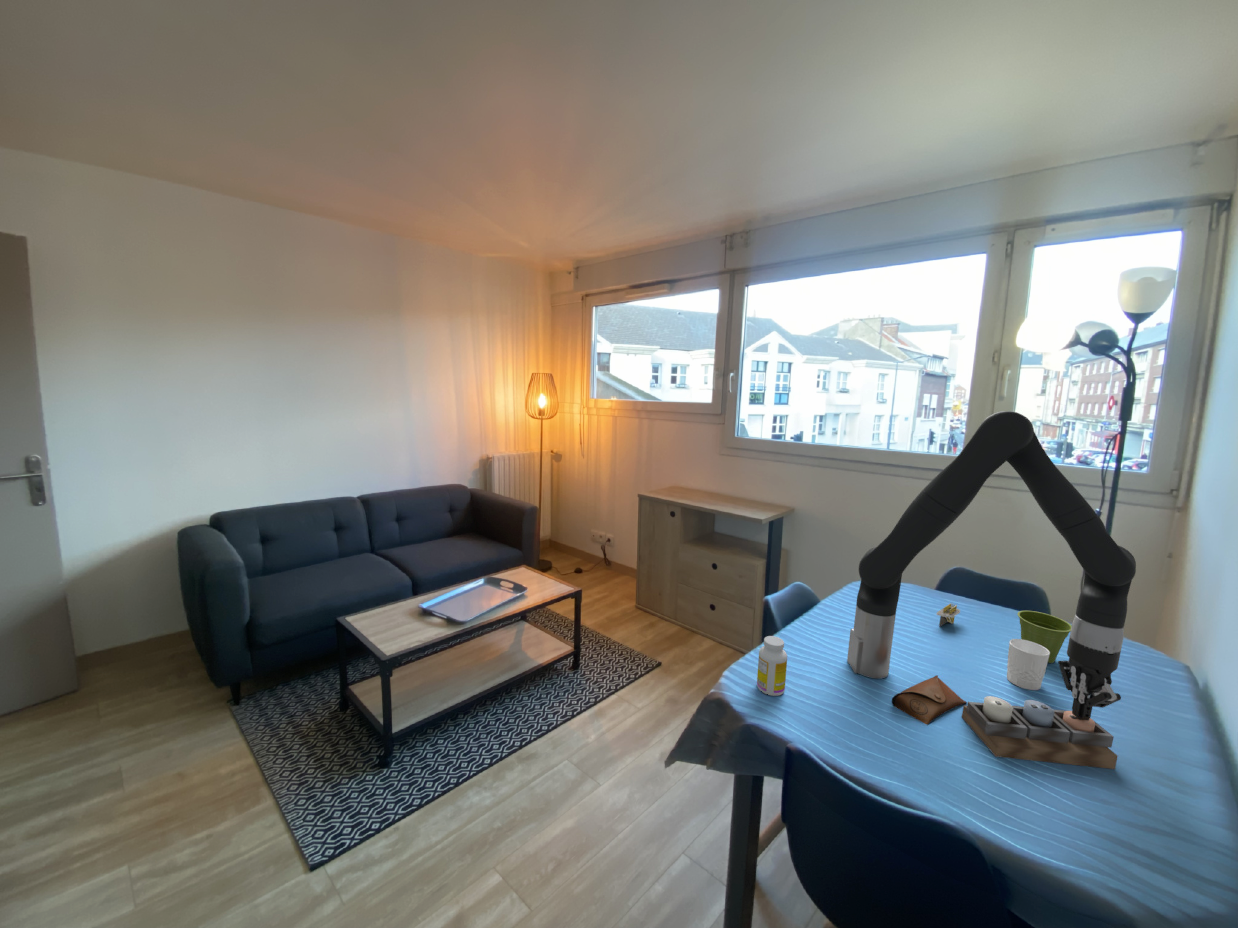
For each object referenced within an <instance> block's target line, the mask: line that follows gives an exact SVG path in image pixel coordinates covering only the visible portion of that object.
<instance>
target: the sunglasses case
mask: <svg viewBox="0 0 1238 928" xmlns="http://www.w3.org/2000/svg"><path fill="white" fill-rule="evenodd" d="M967 703H968V701H966V700H964V699H962V698H961V697H960V696H959V695H958V694H957V693H956V692H955V691H954V690H952V689H951V688H950V687H949V686H948V685H947V684H946V683H945V682H944V681H943V680H942V679H941V678H939V675H934V676H932V677H930V678H928V679H925V680H922V681H920V682H918V683H916V684H914V685H912V686H910V687H908V688H906V689H903V690H902V691H901V692H898V693H896V694H895V695H893V697H892V699H891V704H892V706H893V707H894V708H896V709H898V710H900V711H901V712H903V713H905V714H906V715H908V716H909V717H912V718H914V719H916V721H917V720H918V721H919V722H921V723H923V724H924V725H927V726H928V725H929V724H931V723H932V722H933V721H934V720H935V719H937V718H938V717H939V716H941V715H943V714H945V713H946V712H949V711H951V710H953V709H955V708H956V707H960V706H962V705H963V706H964V705H966V704H967Z"/></svg>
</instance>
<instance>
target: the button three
mask: <svg viewBox="0 0 1238 928" xmlns="http://www.w3.org/2000/svg"><path fill="white" fill-rule="evenodd" d="M1064 711H1065V712H1064V715H1063V721H1064V722H1066V723H1067V724H1068V725H1069V726H1070V727H1071V728H1072V729H1074V730H1076V731H1086V732H1094V728H1095V722H1096V721H1095V720H1094V719H1092V718H1091V717H1090V719H1088V720H1083V719H1078V718H1077V717H1076V716H1074V715H1073V714H1072V710H1064ZM1093 720H1094V721H1095V722H1094V721H1093Z"/></svg>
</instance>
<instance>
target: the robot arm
mask: <svg viewBox="0 0 1238 928" xmlns="http://www.w3.org/2000/svg"><path fill="white" fill-rule="evenodd" d="M1006 462H1007V463H1008V464H1009V465H1010V466H1011V467H1012V468H1013V469H1014V470H1015V472H1016V473H1017V474H1018V475H1019V477H1020V478H1021V480H1022V481H1023V482H1024V484H1025V486H1026V487H1027V488H1028V490H1029V491H1030V493H1031V495H1032V497H1033V498H1034V500H1035V501H1036V503H1037V505H1038V506H1039V508H1040V509H1041V511H1042V512H1043V514H1044V515H1045V516H1046V517H1047V519H1048V520H1049V521H1050V522H1051V524H1052V525H1053V527H1054V528H1055V530H1057V532H1058V533H1059V534H1060V535H1061V536H1062V537H1063V539H1064V540H1065V541H1066V543H1067V545H1068V546H1069V548H1070V550H1071V551H1072V553H1073V555H1074V557H1075V558H1076V560H1077V562H1078V563H1079V564H1080V566H1081V567H1082V569H1083V570H1084V576H1083V584H1082V585H1083V586H1082V589H1081V591H1080V594H1079V597H1078V600H1077V603H1076V609H1075V610H1076V611H1075V615H1074V618H1073V621H1072V623H1071V625H1072V627H1071V632H1069V639H1068V644H1067V650H1066V655H1067V657H1068V660H1058V662H1057V664H1058V667H1059V670H1060V674H1061V676H1062V679H1063V681H1064V682H1063V683H1064V685H1065V687H1066V690H1067V691H1070V692H1071V695H1072V698H1073V700H1072V707H1071V711H1072V714H1073V715H1074V716H1076V717H1077V718H1078V719H1083V720H1088V719H1090V718H1091V716H1092V712H1093V707H1094V708H1097V707H1098V708H1103V709H1104V708H1105V707H1108V706H1109V705H1112V704H1114V703H1117V702H1119V701H1120V700H1121V699H1122V696H1121V695H1120V693H1117V692H1114V690H1113V688H1112V687H1111V685H1112V684H1113V681H1112V674H1113V673H1114V672H1115V671H1117V669H1118V666H1119V663H1120V659H1121V658H1120V657H1121V652H1122V648H1123V647H1122V646H1123V642H1124V633H1125V632H1124V629H1125V625H1126V624H1125V623H1126V618H1127V612H1128V595H1129V592H1130V590H1131V589H1130V588H1131V586H1132V585H1131V584H1132V580H1133V579H1134V577H1135V576H1136V572H1137V569H1136V568H1137V563H1136V559H1135V557H1134V555H1133V554H1132V553H1131V552H1130V551H1129V550H1128V549H1127V548H1125V547H1123V546H1121V545H1118V543H1116V541H1115V540H1114V539H1113V537H1112V536H1111V535H1110V533H1108V531H1107V528H1106V526H1105V524H1104V522H1103V520H1102V519H1101V517H1100V516H1099V515H1098V513H1096V511H1095V510H1094V508H1093V507H1092V506H1091V505H1090V503H1089V502H1088V501H1087V500H1086V498H1085V497H1084V496H1083V495H1082V493H1080V492H1079V490H1077V488H1075V486H1074V485H1073V484H1072V483H1071V482H1070V480H1069V479H1067V477H1066V476H1065V475H1064V474H1063V473H1062V472H1061V471H1060V470H1059V468H1058V467H1057V466H1056V465H1055V463H1054V462H1053V461H1052V459H1051V458H1050V457H1049V455H1048V454H1047V452H1046V451H1045V449H1044V448H1043V445H1042V444H1041V442H1040V440H1039V437H1037V435H1036V433H1035V430H1034V426H1033V423H1032V422H1031V420H1030V419H1029V418H1028V417H1026V416H1025V415H1023V414H1021V413H1019V412H1016V411H1010V410H1004V411H1003V410H1002V411H998V412H994V413H991V414H990V415H989V416H987V417H986V418H985V419H984V420H983V421H982V422H981V423H980V424H979V426H978V428H977V429H976V431H975V432H974V434H973V435H972V436H971V438H970V439H969V441H968V442H967V444H965V446H964V447H963V449H961V452H960V453H959V454H958V455H957V456H956V457H955V459H953V461H951V462H950V463H949V464H948V465H947V466H946V467H945V468H944V469H942V470H941V471H940V472H939V473H938V474H937V475H936V476H934V478H933V479H932V480H931V481H930V482H929V483H928V484H927V485H926V486H925V487H924V488H923V489H922V490H921V491H920V493H918V495H917V496H916V497H915V498H914V499H913V500H912V502H911V503H910V504H909V505H908V507H907V508H906V509H905V511H904V512H903V513H902V515H901V517H900V518H899V520H898V521H897V523H896V525H895V526H894V527H893V529H892V530H891V531H890V533H889V534H888V535H887V536H886V538H884V539H883V541H881V542H880V543H879V544H878V545H877V546H875V547H872V548H871V549H869V550H868V551H866V553H865V554H864V555H863V557H862V558H861V559H860V561H859V564H858V574H859V577H860V584H859V589H858V591H857V595H856V605H855V615H854V622H853V628H851V629H850V631H849V640H848V648H847V649H848V650H847V658H846V661H847V663H848V664H850V665H849V666H850V668H851V667H852V668H851V670H852V671H853V673H854V674H857V673H858V674H857V675H861V676H864V677H868V678H870V679H884V678H886V677H888V676H889V671H890V665H891V664H890V663H891V654H892V648H893V647H892V646H893V639H894V632H895V623H896V622H895V621H896V615H897V609H898V602H899V598H900V592H901V591H900V590H901V586H902V576H903V573H904V571H905V570H906V569H907V567H909V565H910V564H911V562H912V561H913V560H914V559H915V558H916V556H918V554H919V553H921V551H923V550H924V549H925V548H926V547H928V546H929V545H930V544H931V543H932V542H934V540H936V539H937V538H938V537H939V536H940V535H941V534H943V533H944V531H946V530H947V529H948V528H949V527H950V526H951V525H952V524H953V523H954V522H955V521H957V519H958V518H959V517H960V516H961V515H962V514H963V512H964V511H966V509H967V508H968V507H969V505H970V504H971V503H972V502H973V501H974V499H975V497H976V496H977V495H978V493H979V492H980V490H981V489H982V487H983V486H984V484H985V482H986V481H987V480H988V479H990V477H991V476H992V475H993V474H994V472H996V470H997V471H998V469H999V468H1000V467H1002V465H1003V464H1004V463H1006Z"/></svg>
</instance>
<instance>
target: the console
mask: <svg viewBox="0 0 1238 928" xmlns="http://www.w3.org/2000/svg"><path fill="white" fill-rule="evenodd" d="M966 704H967V705H966ZM966 704H963V706H962V707H963V708H962V711H961V712H962V713H961V718H962V720H964V722H965V723H966V724H967V725H968V726H969V727H970V729H971V730H972V731H973V732H974V734H976V735H977V737H978V738H979V739H980V740H981V741H982V743H983V744H984V745H985V746H986V747H987V748H988V749H989V751H990V752H991V753H992V755H993V756H995V757H996V758H997V757H998V758H1007V759H1015V760H1016V759H1017V760H1025V761H1034V762H1035V761H1036V762H1045V763H1053V764H1064V765H1075V766H1082V767H1083V766H1084V767H1093V768H1101V769H1110V770H1111V769H1112V770H1115V769H1116V765H1117V760H1118V757H1119V755H1118V754H1116V753H1115V752H1114V751H1113V750H1112V749H1111V748H1112V747H1113V743H1114V737H1115V736H1113V735H1112V734H1111V733H1110V732H1109V731H1108V730H1106V729H1105V728H1104V727H1103V726H1101V725H1100V724H1098V723H1097V722H1096V721H1095V720H1094V719H1092V720H1093V721H1094V722H1095V728H1094V732H1086V731H1076V730H1074V729H1072V728H1071V727H1070V726H1069V725H1068V724H1067V723H1066V722H1064V721H1063V715H1064V712H1065V711H1066V710H1064V709H1063V710H1062V709H1061V710H1060V709H1053V710H1054V717H1053V723H1052V727H1050V728H1045V727H1039V726H1036V725H1034V724H1032V723H1030V722H1028V721H1027V720H1025V719H1024V718H1023V716H1022V713H1023V708H1024V706H1020V705H1019V706H1018V705H1011V706H1012V707H1013V710H1012V716H1011V721H1010V723H1008V724H1004V723H998V722H995V721H993V720H991V719H989V718H987V717H986V716H985V715H984V714H983V712H982V710H983V704H984V702H975V701H967V703H966Z"/></svg>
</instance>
